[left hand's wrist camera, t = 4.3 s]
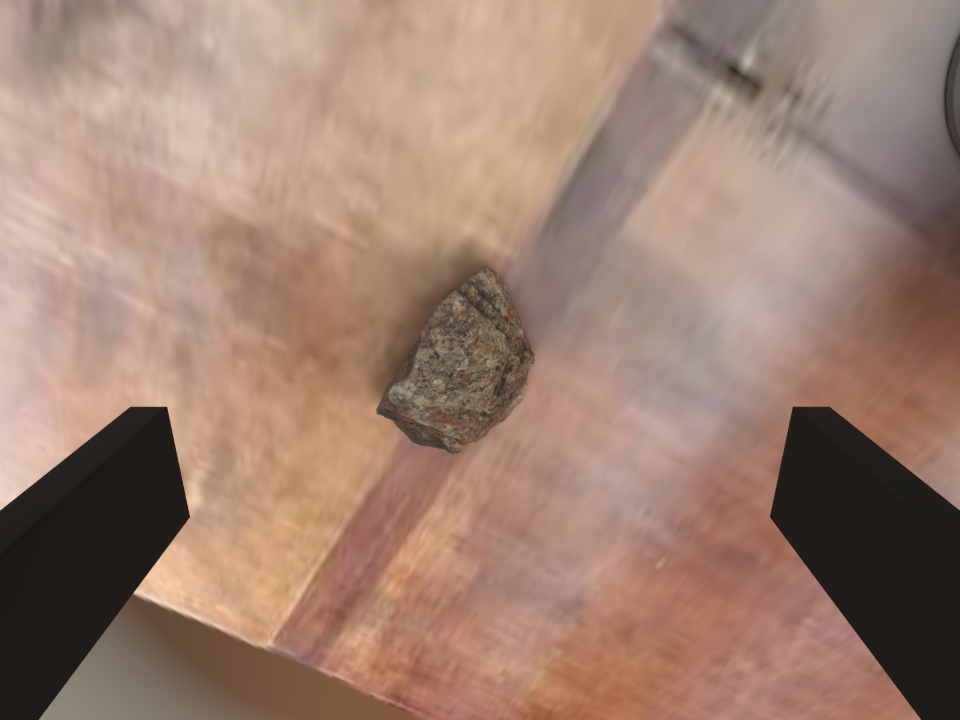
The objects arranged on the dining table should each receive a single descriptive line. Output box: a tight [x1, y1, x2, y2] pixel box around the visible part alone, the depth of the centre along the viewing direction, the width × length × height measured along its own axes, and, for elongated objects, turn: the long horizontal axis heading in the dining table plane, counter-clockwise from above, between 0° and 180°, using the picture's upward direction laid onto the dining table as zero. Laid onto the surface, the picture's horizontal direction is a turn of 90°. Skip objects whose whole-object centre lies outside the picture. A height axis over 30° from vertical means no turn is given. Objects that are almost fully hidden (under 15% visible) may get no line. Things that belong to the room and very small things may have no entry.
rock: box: [376, 267, 534, 455], centre depth 40 cm, size 14×9×10 cm
